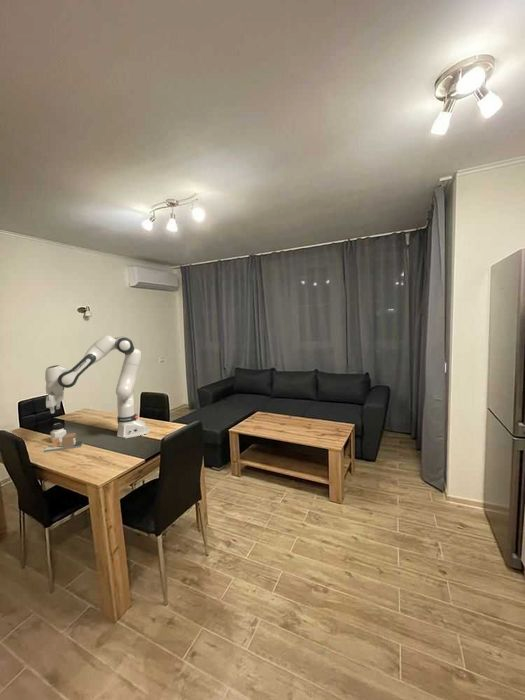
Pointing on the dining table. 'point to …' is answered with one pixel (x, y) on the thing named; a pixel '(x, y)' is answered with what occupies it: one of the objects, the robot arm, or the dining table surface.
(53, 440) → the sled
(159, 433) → the dining table surface
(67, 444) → the tunnel board
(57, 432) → the medicine bottle
